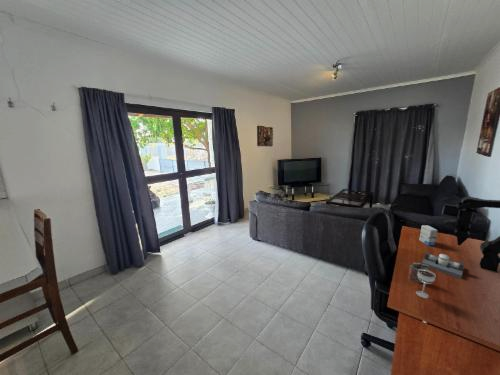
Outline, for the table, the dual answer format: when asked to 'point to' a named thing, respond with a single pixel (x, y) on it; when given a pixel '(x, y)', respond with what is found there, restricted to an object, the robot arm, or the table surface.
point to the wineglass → (425, 280)
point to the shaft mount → (454, 269)
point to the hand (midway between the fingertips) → (459, 242)
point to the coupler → (443, 260)
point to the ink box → (428, 235)
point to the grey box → (416, 271)
